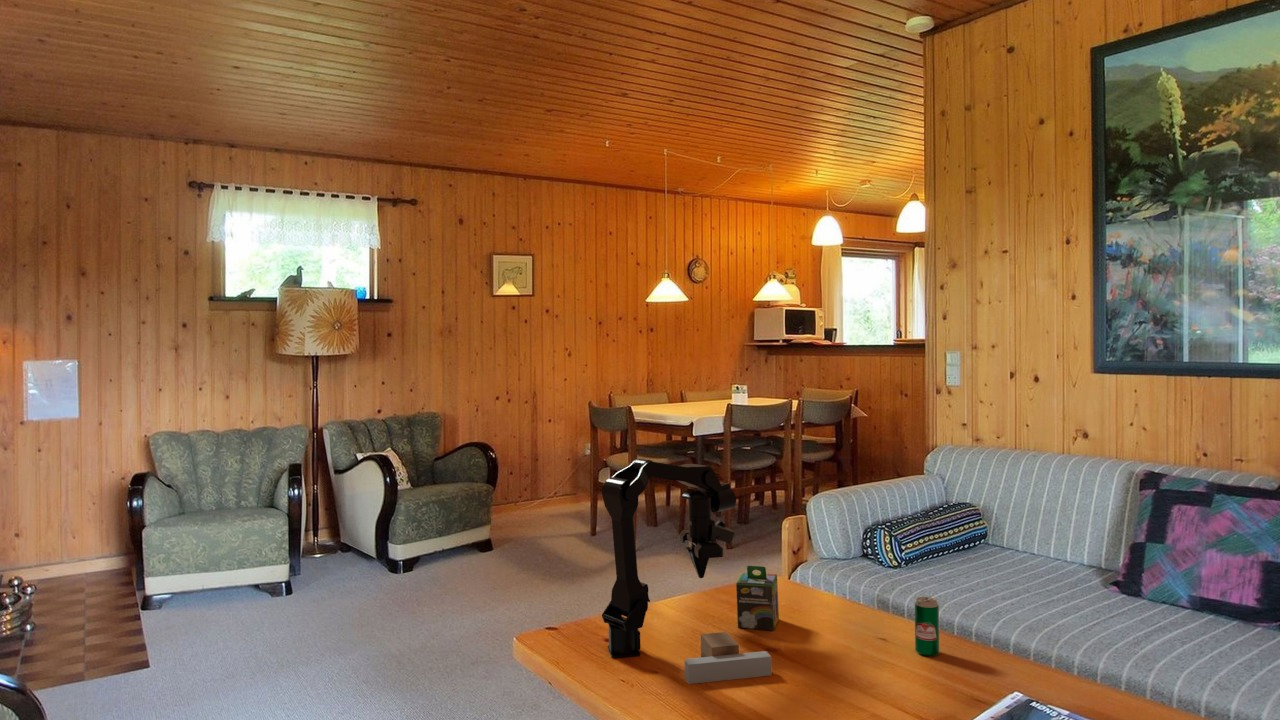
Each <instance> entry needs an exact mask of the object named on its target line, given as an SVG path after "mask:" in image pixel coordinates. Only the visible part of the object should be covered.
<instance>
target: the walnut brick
mask: <svg viewBox="0 0 1280 720" xmlns="http://www.w3.org/2000/svg"><path fill="white" fill-rule="evenodd" d="M731 654H740V645H739V643H738V642H737V641H736V640H735V639H734V638H733V637H732V636H731V635H730V634H729V633H728V632H727V631H721V632H720V631H719V632H712V633H711V632H710V633H701V634H700V658H701V657H711V656H721V655H731Z"/></svg>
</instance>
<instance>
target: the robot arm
mask: <svg viewBox="0 0 1280 720" xmlns="http://www.w3.org/2000/svg"><path fill="white" fill-rule="evenodd" d="M651 478H657V479H659V478H660V479H664V480H672V481H676V482H678V483H680V484H682V485H685V486H687V487H690V488H687V489H686V491H685V492H684V493H683V494H682V495H681V498H682V499H685V500H687V503H688V504H687V505H688V508H687V509H688V517H686V523H687V524H688V529H683V530H682V531H680V533H679V542H680V543H682V544H685V543H686V541H687V542H688V546H685V550H686V552H687V554H688V556H689V559H690V560H691V563H692V564H693V568H694V569H695V572H696V574H697V577H698V578H699V579H703V578H704V577H705V575H706V572H707V571H706V570H707V566H708V563H709V559H713V558H714V559H716V558H723V557H724V548H723V547H722V546H721V544H719V543H717V540H718V541H721V542H724V543H726V544H729V545H732V543H733V541H734V540H733V539H734V537H735V534H736V531H734V530H733V529H731V528H729V527H727V526H726V522H724V521H722V520H719V519H718V520H717V521H715V520H714V519H712V517H713V516H712V513H718V512H724V511H728V510H732V509H734V508H735V507H736V504H737V496H736V493H735V492H734V490H733V489H732V488H731V484H730V483H727V482H722V483H721V482H720V481H719V479H718V477H717V475H716V473H715V471H714V468H713V467H712V466H710V465H703V464H696V463H684V464H680V465H675V464H670V463H663V462H656V461H653V460H650V459H645V458H636V459H635V460H633V461H632V462H631V463H630V464H629V465H628V466H626V467H624V468H623V469H621V470H618V471H617V472H615V474H614V475H612V476H611V477H610V478H609V477H608V478H607V479H606V480H605V481H604V484H602V486H601V495H602V496H601V497H602V501H603V504H604V507H605V509H606V511H607V512H608V514H609V516H610V518H611V525H612V528H611V529H612V539H613V549H614V550H613V551H614V561H615V563H614V564H615V572H616V573H615V575H616V579H615V582H614V584H613V585H612V588H611V594H610V595H611V598H610V599H611V600H609V603H608V605H607V606H606V607H605V609H604V610H603V612H602V614H601V617H602V620H603V621H602V622H603V623H604V624H608V645H607V650H608V652H609V655H610V658H612V659H615V658H617V659H618V658H626V657H634V656H635V657H636V656H637V657H639V656H640V655H641V652H640V650H641V632H640V630H639V629H641V628H643V626H644V622H645V618H646V613H647V612H648V608H649V603H650V602H651V600H650V598H649V585H648V584H647V583H644V582H642V581H640V579H639V574H638V572H639V571H638V562H637V561H638V560H637V551H636V550H637V549H636V540H635V539H636V535H635V525H634V516H635V513H636V511H637V509H638V506H639V498H640V497H639V496H640V495H641V494H642V493H643V492H644V491H645V490H646V489H647V487H648V484H649V481H650V479H651ZM691 487H692V488H691ZM693 488H696V489H698V490H695V489H693Z"/></svg>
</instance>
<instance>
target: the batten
mask: <svg viewBox="0 0 1280 720" xmlns="http://www.w3.org/2000/svg"><path fill="white" fill-rule="evenodd" d="M768 676H772V656H771V655H770V654H769V653H768V651H767V650H766V651H765V650H764V651H753V652H744V653H739V654H731V655H721V656H711V657H701V656H700V657H695V658H694V657H692V658H685V659H684V678H685V681H686V683H688V685H693V684H702V683H711V682H720V681H721V682H722V681H729V680H730V681H731V680H742V679H749V678H758V677H768Z"/></svg>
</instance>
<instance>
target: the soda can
mask: <svg viewBox="0 0 1280 720" xmlns="http://www.w3.org/2000/svg"><path fill="white" fill-rule="evenodd" d="M939 605H940V604H938V601H937V599H936V598H933V597H929V596H920V597H916V601H915V602H914V649H915V651H916V653H917V654H918V653H919V654H918V655H920V654H921V655H920V656H923V655H924V656H923V657H928V656H932V657H936V656H938V654H939V653H940V606H939Z"/></svg>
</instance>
